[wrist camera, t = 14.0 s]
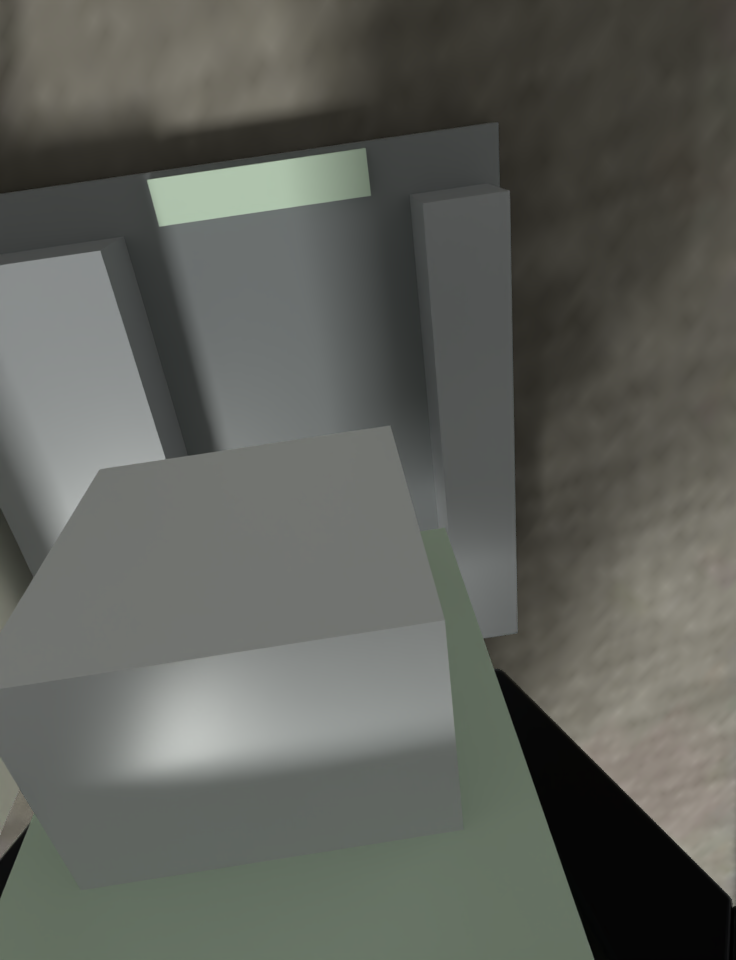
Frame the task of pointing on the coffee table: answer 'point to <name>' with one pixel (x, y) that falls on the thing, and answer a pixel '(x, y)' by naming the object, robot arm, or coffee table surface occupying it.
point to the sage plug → (267, 728)
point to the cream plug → (3, 585)
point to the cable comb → (270, 330)
